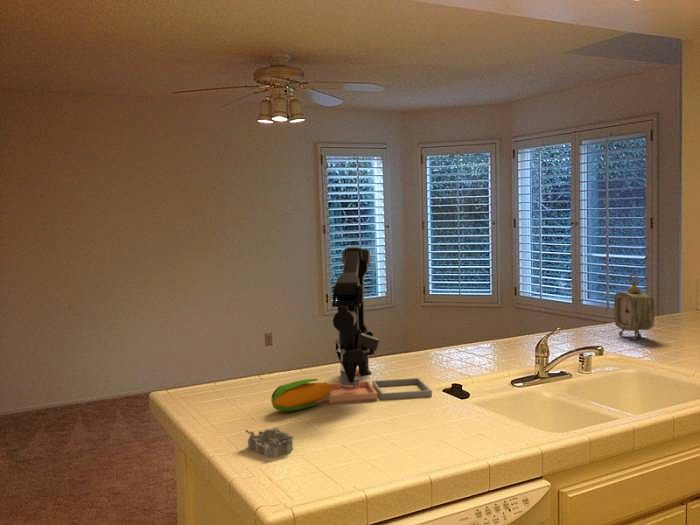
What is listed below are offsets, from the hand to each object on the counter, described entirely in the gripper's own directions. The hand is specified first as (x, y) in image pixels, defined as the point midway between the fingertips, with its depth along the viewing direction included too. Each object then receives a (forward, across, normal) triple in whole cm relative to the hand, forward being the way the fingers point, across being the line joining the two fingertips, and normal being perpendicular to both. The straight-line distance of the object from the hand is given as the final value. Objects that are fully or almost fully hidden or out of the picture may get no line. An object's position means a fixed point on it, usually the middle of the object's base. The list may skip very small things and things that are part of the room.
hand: (349, 379), depth 184 cm
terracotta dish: (+4, 0, 0) cm, 4 cm away
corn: (+5, -8, +14) cm, 17 cm away
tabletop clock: (+5, +54, -121) cm, 133 cm away
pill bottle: (+3, 0, 0) cm, 3 cm away
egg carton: (+5, -38, +24) cm, 45 cm away
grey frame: (+4, +1, -15) cm, 16 cm away
